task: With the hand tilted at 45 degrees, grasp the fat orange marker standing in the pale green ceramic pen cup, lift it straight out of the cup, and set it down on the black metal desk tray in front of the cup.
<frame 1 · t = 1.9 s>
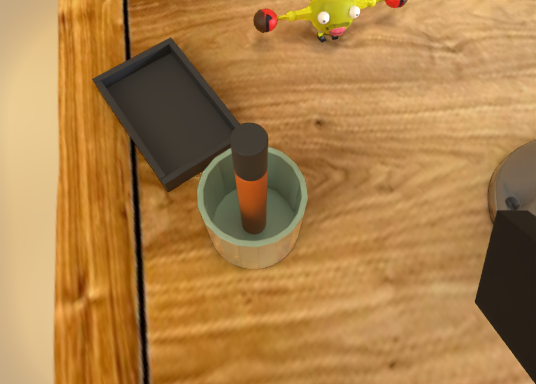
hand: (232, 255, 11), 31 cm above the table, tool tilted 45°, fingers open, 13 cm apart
pen tray: (171, 115, 48), on the table
pen cup: (254, 224, 43), on the table
marker: (254, 222, 43), point 1 cm above the table, touching pen cup
toy figure: (327, 37, 52), on the table
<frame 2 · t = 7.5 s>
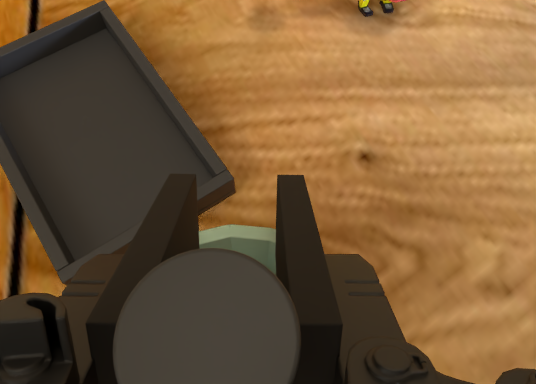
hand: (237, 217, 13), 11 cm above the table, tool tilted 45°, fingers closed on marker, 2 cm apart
pen tray: (98, 138, 26), on the table
pen cup: (243, 363, 22), on the table
marker: (243, 363, 21), point 1 cm above the table, touching gripper, pen cup
toy figure: (374, 10, 31), on the table
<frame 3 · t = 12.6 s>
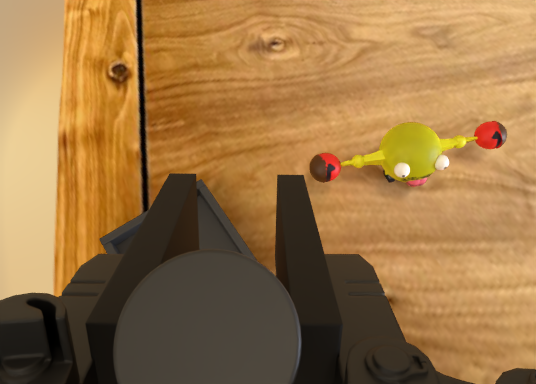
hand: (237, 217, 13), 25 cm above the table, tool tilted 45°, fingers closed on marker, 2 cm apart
pen tray: (200, 285, 37), on the table
marker: (243, 363, 21), point 15 cm above the table, touching gripper
toy figure: (395, 174, 42), on the table
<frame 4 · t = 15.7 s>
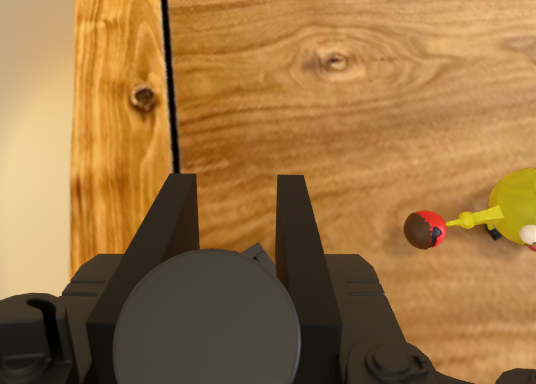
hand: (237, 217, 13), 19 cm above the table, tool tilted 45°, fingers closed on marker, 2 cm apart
marker: (243, 363, 21), point 8 cm above the table, touching gripper
toy figure: (499, 229, 33), on the table
when the fingers open (11 cm above the table, at t = 17.9 s): marker stays where it is, resting on pen tray.
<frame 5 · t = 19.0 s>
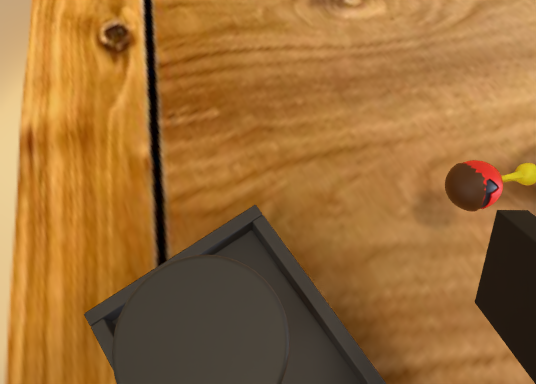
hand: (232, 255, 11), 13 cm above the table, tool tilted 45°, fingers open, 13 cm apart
marker: (240, 363, 21), resting on pen tray
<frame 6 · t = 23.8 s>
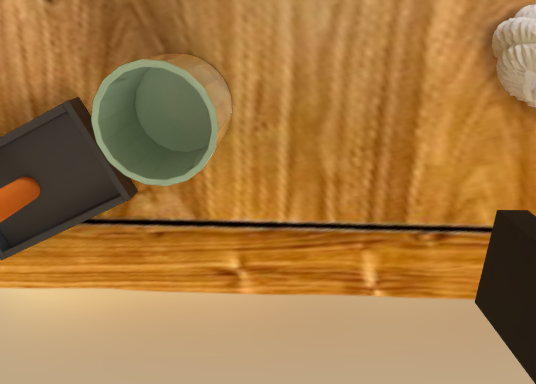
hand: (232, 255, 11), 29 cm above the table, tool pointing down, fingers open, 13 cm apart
pen tray: (43, 179, 42), on the table
pen cup: (182, 106, 39), on the table
marker: (28, 188, 42), resting on pen tray
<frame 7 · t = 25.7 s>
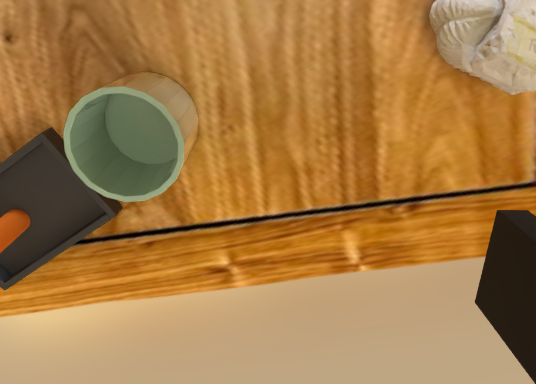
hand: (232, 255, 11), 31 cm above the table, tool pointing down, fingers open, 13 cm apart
fossil replica: (486, 26, 38), on the table
pen tray: (31, 209, 44), on the table
pen cup: (150, 121, 41), on the table
marker: (18, 219, 44), resting on pen tray
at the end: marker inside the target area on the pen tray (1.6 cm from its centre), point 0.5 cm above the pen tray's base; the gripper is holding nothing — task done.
